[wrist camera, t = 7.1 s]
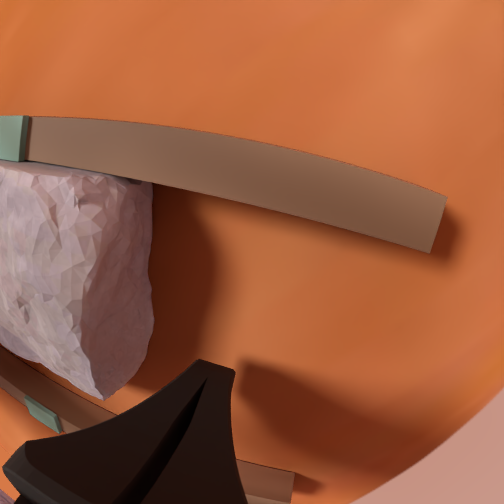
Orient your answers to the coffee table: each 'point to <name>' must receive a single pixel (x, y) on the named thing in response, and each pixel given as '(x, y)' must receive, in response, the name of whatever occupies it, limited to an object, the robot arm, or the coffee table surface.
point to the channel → (221, 185)
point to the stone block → (76, 272)
